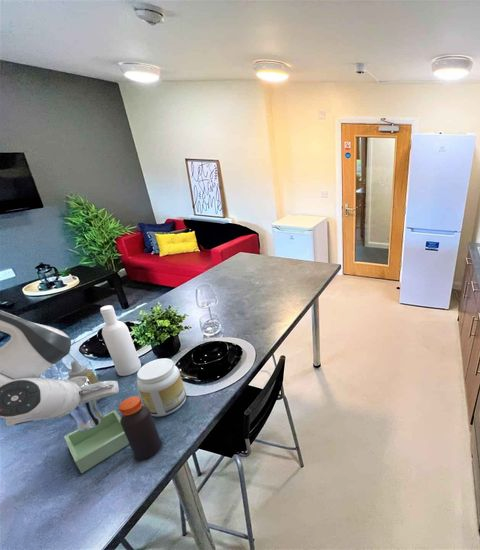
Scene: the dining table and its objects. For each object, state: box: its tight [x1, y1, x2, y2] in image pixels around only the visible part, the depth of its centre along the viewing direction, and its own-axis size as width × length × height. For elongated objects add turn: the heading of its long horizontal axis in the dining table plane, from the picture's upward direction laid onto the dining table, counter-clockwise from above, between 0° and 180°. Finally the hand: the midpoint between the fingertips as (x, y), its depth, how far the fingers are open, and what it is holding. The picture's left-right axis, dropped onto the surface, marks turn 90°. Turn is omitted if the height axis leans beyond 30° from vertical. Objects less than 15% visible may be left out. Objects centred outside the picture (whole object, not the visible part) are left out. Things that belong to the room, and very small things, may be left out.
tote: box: [63, 409, 130, 474], centre depth 90 cm, size 13×13×5 cm
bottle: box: [99, 304, 142, 377], centre depth 114 cm, size 8×8×30 cm
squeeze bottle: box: [66, 360, 101, 403], centre depth 102 cm, size 8×8×18 cm
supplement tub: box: [136, 357, 187, 417], centre depth 102 cm, size 12×12×17 cm
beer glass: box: [65, 376, 105, 431], centre depth 84 cm, size 7×7×15 cm
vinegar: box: [118, 395, 162, 461], centre depth 86 cm, size 7×7×20 cm
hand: (81, 400), depth 84 cm, fingers closed on beer glass, 7 cm apart
